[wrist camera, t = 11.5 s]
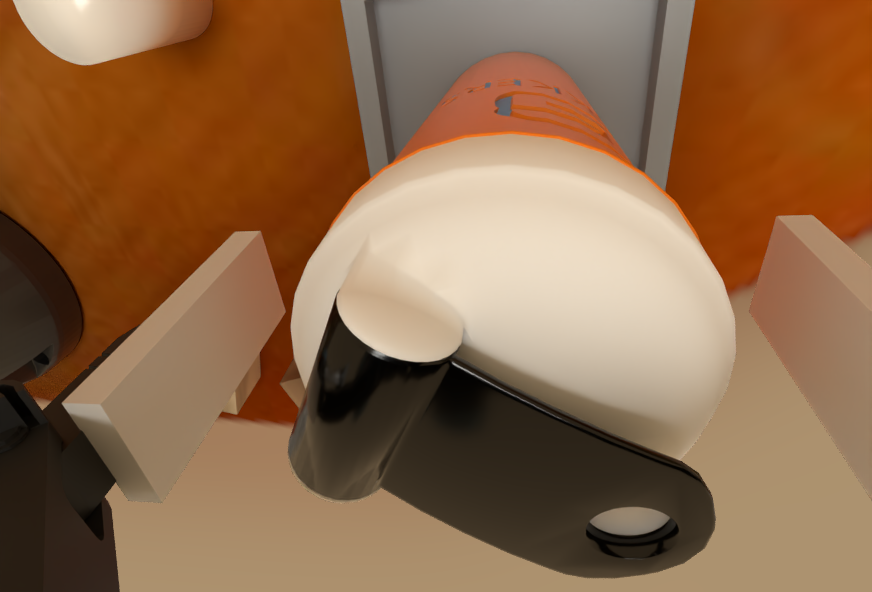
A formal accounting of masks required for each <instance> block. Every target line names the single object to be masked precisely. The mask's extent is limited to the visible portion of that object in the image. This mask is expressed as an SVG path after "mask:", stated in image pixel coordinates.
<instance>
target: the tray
mask: <svg viewBox="0 0 872 592" xmlns="http://www.w3.org/2000/svg"><path fill="white" fill-rule="evenodd" d="M694 5H695V0H341V6H342V12H343V18H344V24H345V30H346V36H347V42H348V47H349V53H350V59H351V65H352V71H353V77H354V83H355V88H356V94H357V100H358V106H359V112H360V118H361V124H362V130H363V135H364V141H365V147H366V153H367V159H368V165H369V171H370V176H371V178H372V177H373V176H374V175H375V174H377V173H378V172H379V171H380V170H381V169H382V168H384V167H385V166H387V165H389V164H391V163H393V161H394V160H395V159H396V157H397V156H398V155H399V154H400V152H401V151H402V150H403V148H404V147H405V146H406V145H407V143H408V142H409V141H410V139H411V138H412V137H413V136H414V134H415V133H416V132H417V130H418V129H419V128H420V127H421V125H422V124H423V123H424V121H425V120H426V119H427V118H428V116H429V115H430V114H431V112H432V111H433V110H434V109H435V107H436V106H437V105H438V103H439V102H440V101H441V100H442V98H443V97H444V96H445V94H446V93H447V92H448V91H449V89H450V88H451V87H452V85H453V84H454V83H455V81H456V80H457V79H458V78H459V77H460V76H461V75H462V74H463V73H464V72H465V71H466V70H467V69H469V68H470V67H471V66H472V65H474V64H476V63H478V62H479V61H481V60H483V59H485V58H488V57H491V56H493V55H496V54H499V53H508V52H524V53H532V54H535V55H538V56H541V57H544V58H547V59H548V60H550V61H552V62H553V63H555V64H557V65H558V66H560V67H561V68H562V69H563V70H564V71H565V72H566V73H567V74H568V75H569V76H570V77H571V78H572V80H573V81H574V82H575V84H576V85H577V87H578V88H579V90H580V91H581V92H582V94H583V95H584V97H585V98H586V99H587V101H588V102H589V104H590V105H591V106H592V108H593V109H594V111H595V112H596V114H597V115H598V116H599V118H600V119H601V121H602V122H603V123H604V125H605V126H606V128H607V129H608V131H609V132H610V133H611V135H612V136H613V138H614V139H615V140H616V142H617V143H618V145H619V146H620V148H621V149H622V150H623V152H624V153H625V155H626V156H627V157H628V159H629V160H630V162H631V163H632V164H633V166H634V167H635V168H637V169H639V170H641V171H642V172H644V173H645V174H646V175H647V176H649V177H650V178H651V179H652V180H653V181H654V182H655V183H656V184H657V185H658V186H659V187H660V188H662V189H663V190H664V191H665V188H666V182H667V175H668V169H669V163H670V156H671V150H672V144H673V137H674V131H675V125H676V118H677V112H678V106H679V99H680V93H681V87H682V80H683V74H684V68H685V61H686V55H687V49H688V43H689V36H690V30H691V24H692V17H693V11H694Z"/></svg>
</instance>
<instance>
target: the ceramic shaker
mask: <svg viewBox="0 0 872 592" xmlns="http://www.w3.org/2000/svg"><path fill="white" fill-rule="evenodd" d="M13 1H14V4H15V6H16V9H17V11H18V13H19V15H20V17H21V19H22V20H23V22H24V23H25V25H26V26H27V28H28V29H29V30H30V32H31V33H32V34H33V35H34V37H35V38H36V39H37V40H38V41H39V42H40V43H41V44H42V45H43V46H44V47H46V48H47V49H48V50H49V51H51V52H52V53H53V54H55V55H56V56H58V57H60V58H62V59H64V60H66V61H69V62H71V63H75V64H80V65H92V64H97V63H101V62H105V61H109V60H112V59H116V58H120V57H124V56H128V55H132V54H136V53H140V52H143V51H147V50H151V49H155V48H159V47H163V46H167V45H171V44H174V43H178V42H182V41H186V40H190V39H193V38H196V37H198V36H199V35H201V34H202V33H203V32H204V31H205V30H206V29H207V27H208V25H209V23H210V21H211V17H212V12H213V0H13Z"/></svg>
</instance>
